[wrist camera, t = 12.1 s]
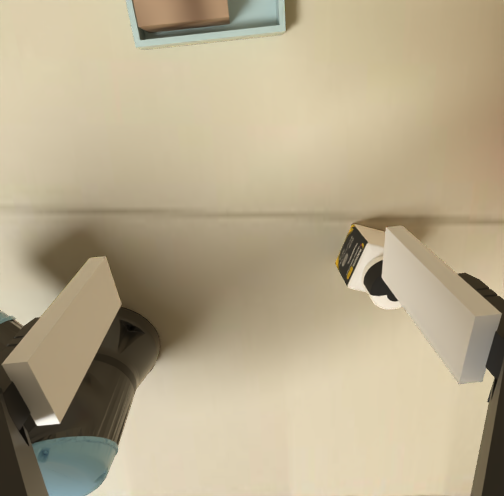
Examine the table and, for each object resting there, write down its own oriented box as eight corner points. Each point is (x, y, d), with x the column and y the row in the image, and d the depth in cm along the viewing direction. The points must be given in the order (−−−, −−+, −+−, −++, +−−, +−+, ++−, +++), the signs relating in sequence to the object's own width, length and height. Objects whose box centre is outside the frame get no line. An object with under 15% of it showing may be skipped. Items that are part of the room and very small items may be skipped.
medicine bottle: (351, 222, 50) (383, 261, 39) (395, 233, 51) (437, 274, 40) (333, 263, 53) (358, 310, 42) (375, 273, 54) (409, 321, 43)
